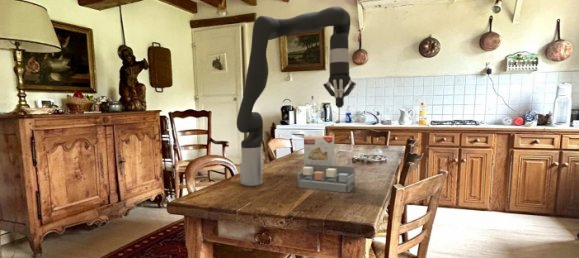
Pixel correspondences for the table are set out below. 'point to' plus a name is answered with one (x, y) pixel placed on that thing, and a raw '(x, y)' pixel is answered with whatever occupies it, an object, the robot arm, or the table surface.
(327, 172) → the ivory key
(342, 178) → the key blue
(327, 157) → the cracker box
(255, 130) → the robot arm
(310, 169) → the ivory key
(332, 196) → the table surface
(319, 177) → the key terracotta
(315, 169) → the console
